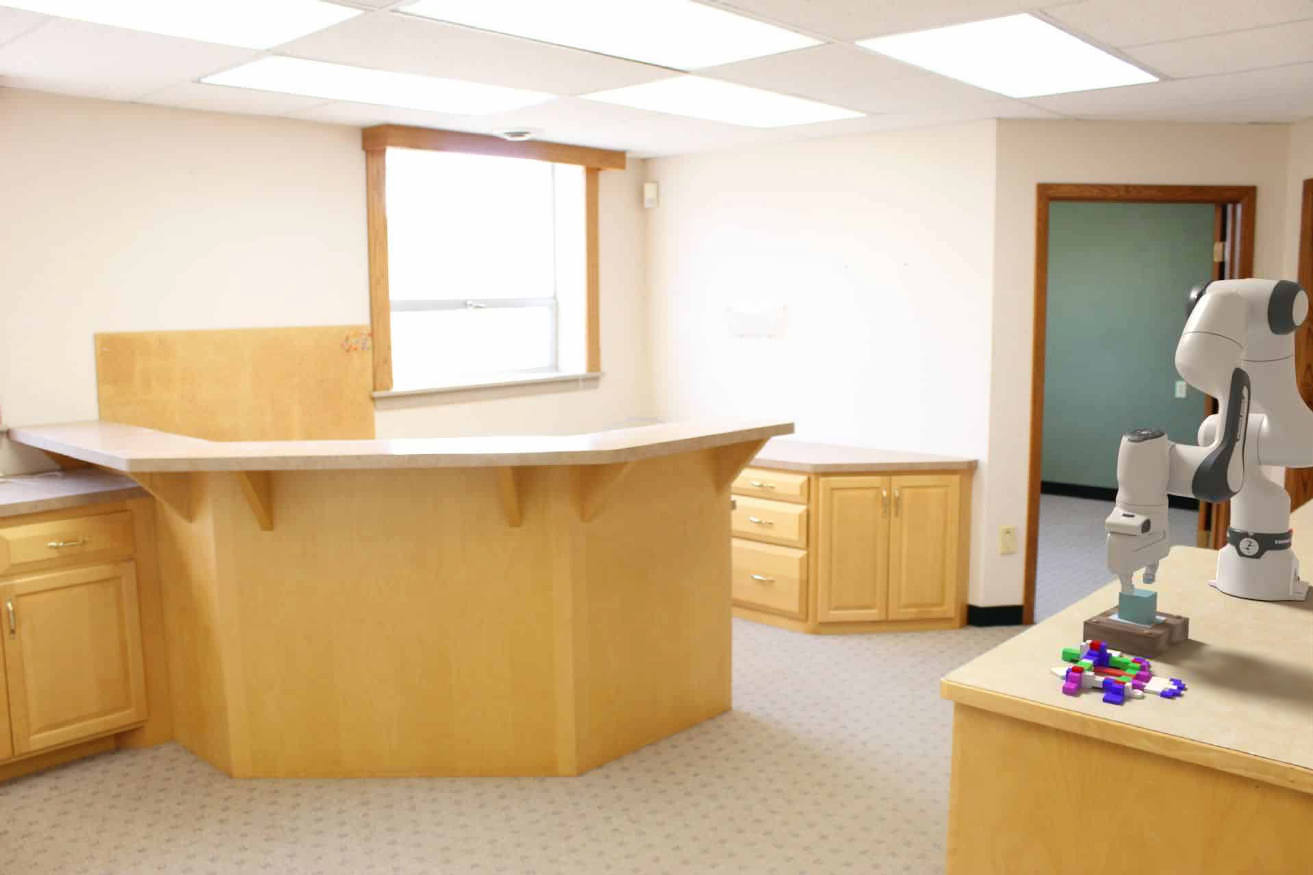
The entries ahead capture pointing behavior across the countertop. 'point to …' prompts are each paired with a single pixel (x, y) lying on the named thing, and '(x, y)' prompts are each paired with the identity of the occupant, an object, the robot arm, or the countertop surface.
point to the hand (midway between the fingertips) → (1138, 588)
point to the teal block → (1138, 606)
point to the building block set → (1112, 674)
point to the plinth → (1137, 632)
